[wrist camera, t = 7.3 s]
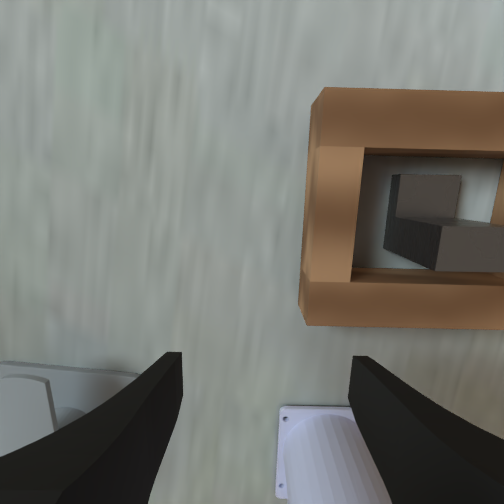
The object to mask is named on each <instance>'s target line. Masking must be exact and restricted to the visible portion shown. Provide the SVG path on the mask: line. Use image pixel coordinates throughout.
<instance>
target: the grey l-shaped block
mask: <svg viewBox="0 0 504 504" xmlns="http://www.w3.org/2000/svg"><path fill="white" fill-rule="evenodd" d="M461 176H462V175H415V174H398V175H392V181H391V189H390V197H389V205H388V213H387V221H386V229H385V237H384V245H383V248H384V249H386V250H389V251H391V252H393V253H395V254H398V255H400V256H402V257H404V258H407V259H409V260H411V261H413V262H415V263H418V264H420V265H422V266H424V267H427V268H429V269H431V270H433V271H451V272H504V225H499V224H492V223H485V222H478V221H471V220H464V219H457V218H454V216H455V210H456V205H457V199H458V193H459V188H460V182H461Z"/></svg>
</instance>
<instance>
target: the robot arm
mask: <svg viewBox="0 0 504 504" xmlns="http://www.w3.org/2000/svg"><path fill="white" fill-rule="evenodd" d="M182 397H183V376H182V352H166V353H165V354H164V355H163V356H162V357H161V358H159V359H158V360H157V361H156V362H155V363H154V364H153V365H151V366H150V367H149V368H148V369H147V370H146V371H144V372H143V373H142V374H141V375H140V376H138V377H137V378H136V379H135V380H134V381H132V382H131V383H130V384H128V385H127V386H126V387H125V388H123V389H122V390H121V391H119V392H118V393H117V394H115V395H114V396H113V397H111V398H110V399H108V400H107V401H105V402H104V403H103V404H101V405H99V406H98V407H96V408H95V409H93V410H92V411H90V412H89V413H87V414H85V415H84V416H82V417H80V418H78V419H77V420H75V421H73V422H71V423H69V424H68V425H66V426H64V427H62V428H60V429H59V430H57V431H55V432H53V433H51V434H49V435H47V436H45V437H43V438H41V439H39V440H37V441H35V442H33V443H30V444H28V445H26V446H24V447H22V448H20V449H17V450H15V451H13V452H11V453H8V454H6V455H3V456H1V457H0V504H148V501H149V497H150V493H151V490H152V487H153V484H154V481H155V478H156V475H157V473H158V470H159V467H160V465H161V462H162V459H163V456H164V454H165V451H166V448H167V446H168V443H169V440H170V438H171V435H172V432H173V429H174V427H175V424H176V421H177V418H178V414H179V410H180V406H181V402H182ZM348 399H349V403H350V406H351V407H326V406H283V407H281V408H280V414H279V432H278V450H277V468H276V486H275V493H276V496H277V497H278V498H280V499H287V501H288V504H504V440H503V439H501V438H499V437H497V436H495V435H493V434H491V433H489V432H487V431H485V430H483V429H481V428H479V427H477V426H475V425H473V424H471V423H469V422H467V421H466V420H464V419H462V418H460V417H458V416H457V415H455V414H453V413H451V412H450V411H448V410H446V409H445V408H443V407H441V406H440V405H438V404H436V403H435V402H433V401H432V400H430V399H429V398H427V397H425V396H424V395H422V394H421V393H419V392H418V391H416V390H415V389H413V388H412V387H411V386H409V385H408V384H406V383H405V382H403V381H402V380H401V379H399V378H398V377H396V376H395V375H394V374H392V373H391V372H390V371H388V370H387V369H385V368H384V367H383V366H381V365H380V364H379V363H377V362H376V361H374V360H373V359H371V358H370V357H368V356H353V360H352V368H351V377H350V385H349V394H348ZM283 417H287V418H283Z"/></svg>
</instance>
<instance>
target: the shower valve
mask: <svg viewBox="0 0 504 504" xmlns="http://www.w3.org/2000/svg"><path fill="white" fill-rule="evenodd" d="M138 376H140V374H137V373H129V372H119V371H108V370H98V369H88V368H77V367H67V366H56V365H46V364H35V363H25V362H14V361H3V362H0V457H1V456H3V455H6V454H8V453H11V452H13V451H15V450H17V449H20V448H22V447H24V446H26V445H28V444H30V443H33V442H35V441H37V440H39V439H41V438H43V437H45V436H47V435H49V434H51V433H53V432H55V431H57V430H59V429H60V428H62V427H64V426H66V425H68V424H69V423H71V422H73V421H75V420H77V419H78V418H80V417H82V416H84V415H85V414H87V413H89V412H90V411H92V410H93V409H95V408H96V407H98V406H99V405H101V404H103V403H104V402H105V401H107V400H108V399H110V398H111V397H113V396H114V395H115V394H117V393H118V392H119V391H121V390H122V389H123V388H125V387H126V386H127V385H128V384H130V383H131V382H132V381H134V380H135V379H136V378H137V377H138Z"/></svg>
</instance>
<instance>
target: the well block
mask: <svg viewBox="0 0 504 504" xmlns="http://www.w3.org/2000/svg"><path fill="white" fill-rule="evenodd" d="M364 155H377V156H414V157H452V158H489V159H504V92H480V91H445V90H409V89H374V88H339V87H324V89H323V90H322V92H321V93H320V94H319V96H318V97H317V98H316V100H315V101H314V103H313V104H312V105H311V116H310V131H309V146H308V161H307V176H306V191H305V207H304V222H303V237H302V252H301V267H300V283H299V298H298V305H299V307H300V310H301V312H302V315H303V317H304V320H305V322H306V325H307V326H353V327H398V328H444V329H489V330H504V272H451V271H433V270H431V269H392V268H352V259H353V250H354V241H355V232H356V222H357V213H358V204H359V195H360V185H361V176H362V167H363V158H364ZM490 223H492V224H499V225H504V161H503V165H502V170H501V175H500V179H499V184H498V189H497V193H496V198H495V203H494V207H493V212H492V217H491V221H490Z"/></svg>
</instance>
